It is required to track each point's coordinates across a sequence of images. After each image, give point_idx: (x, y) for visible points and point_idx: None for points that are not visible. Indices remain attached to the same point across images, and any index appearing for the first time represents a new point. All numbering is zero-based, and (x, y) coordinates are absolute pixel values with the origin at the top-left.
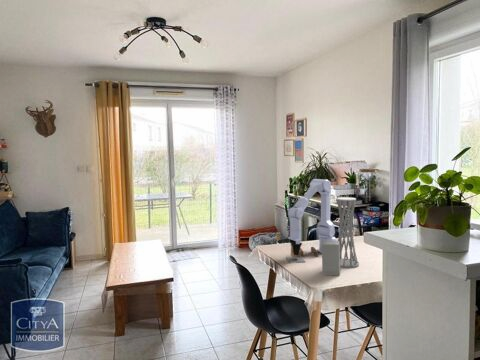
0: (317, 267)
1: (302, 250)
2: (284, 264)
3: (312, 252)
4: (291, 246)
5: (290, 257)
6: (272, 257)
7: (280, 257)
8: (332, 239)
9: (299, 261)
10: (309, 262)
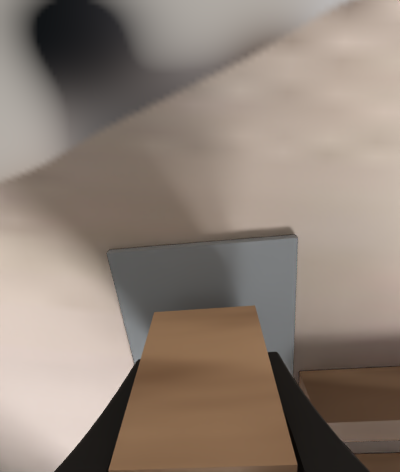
0: (29, 433)
1: (377, 439)
2: (37, 200)
3: (394, 465)
4: (213, 445)
5: (275, 284)
6: (332, 43)
7: (316, 168)
8: None
9: (136, 348)
10: None
